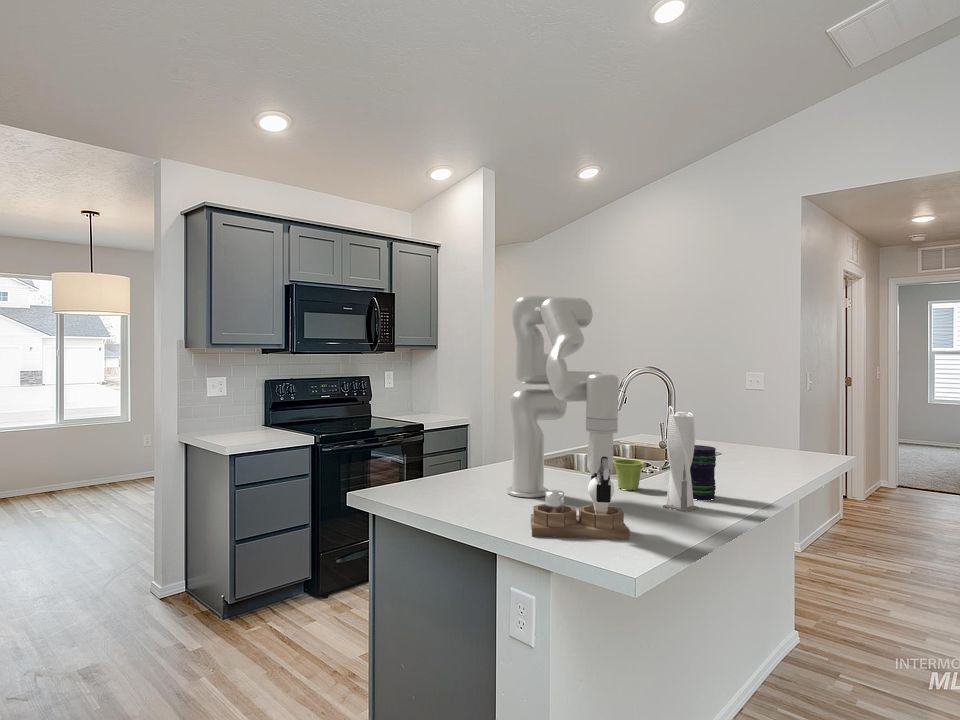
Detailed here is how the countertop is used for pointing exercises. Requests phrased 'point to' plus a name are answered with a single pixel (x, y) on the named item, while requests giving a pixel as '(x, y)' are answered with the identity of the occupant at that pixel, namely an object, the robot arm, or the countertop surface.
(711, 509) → the countertop surface
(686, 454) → the skyscraper
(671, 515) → the countertop surface
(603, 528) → the socket board
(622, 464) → the plant pot
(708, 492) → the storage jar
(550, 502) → the grey domed cylinder
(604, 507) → the lightbulb
